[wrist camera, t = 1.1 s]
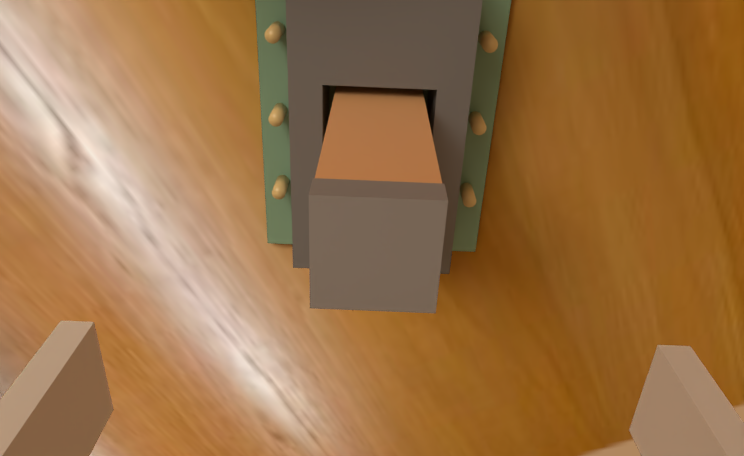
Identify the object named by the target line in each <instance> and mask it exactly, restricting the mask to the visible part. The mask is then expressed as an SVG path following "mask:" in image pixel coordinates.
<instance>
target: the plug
mask: <svg viewBox="0 0 744 456" xmlns="http://www.w3.org/2000/svg"><path fill="white" fill-rule="evenodd" d="M447 207H448V197H447V193H446V188H445V184H442V179H441V175H440V170H439V165H438V160H437V156H436V151H435V146H434V142H433V137H432V132H431V128H430V123H429V118H428V113H427V109H426V104H425V99H424V95H423V90H422V89H404V88H381V87H358V86H336V90H335V94H334V98H333V102H332V107H331V111H330V115H329V119H328V124H327V128H326V132H325V136H324V141H323V145H322V149H321V153H320V158H319V162H318V166H317V170H316V175H315V178H313V179H312V183H311V187H310V191H309V265H310V308H318V309H343V310H368V311H392V312H417V313H436V305H437V296H438V287H439V278H440V269H441V261H442V252H443V243H444V234H445V225H446V216H447Z"/></svg>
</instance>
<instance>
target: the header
mask: <svg viewBox="0 0 744 456" xmlns="http://www.w3.org/2000/svg"><path fill="white" fill-rule="evenodd" d="M255 4H256V23H257V43H258V62H259V82H260V101H261V121H262V140H263V160H264V179H265V199H266V218H267V238H268V243H275V244H292V245H293V268H310V265H309V191H310V187H311V183H312V179H313V178H315V175H316V170H317V166H318V162H319V158H320V153H321V149H322V145H323V141H324V136H325V132H326V128H327V124H328V119H329V115H330V111H331V107H332V102H333V98H334V94H335V90H336V86H358V87H381V88H404V89H422V90H423V95H424V99H425V104H426V109H427V113H428V118H429V123H430V128H431V132H432V137H433V142H434V146H435V151H436V156H437V160H438V165H439V170H440V175H441V179H442V184H445V188H446V193H447V197H448V207H447V216H446V225H445V234H444V243H443V252H442V261H441V269H440V274H449V273H450V264H451V256H452V251H470V252H475V250H476V243H477V236H478V229H479V222H480V215H481V208H482V201H483V194H484V187H485V180H486V173H487V166H488V159H489V152H490V145H491V138H492V131H493V124H494V117H495V110H496V103H497V96H498V90H499V83H500V76H501V69H502V62H503V55H504V48H505V41H506V34H507V27H508V20H509V13H510V6H511V0H255Z"/></svg>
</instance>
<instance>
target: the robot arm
mask: <svg viewBox="0 0 744 456" xmlns="http://www.w3.org/2000/svg"><path fill="white" fill-rule="evenodd" d="M113 410H114V409H113V405H112V400H111V396H110V391H109V387H108V382H107V378H106V373H105V369H104V365H103V360H102V356H101V351H100V347H99V342H98V338H97V333H96V329H95V324H94V322H80V321H60V323H59V324H58V325H57V326H56V328H55V329H54V330H53V332H52V333H51V334H50V336H49V337H48V338H47V339H46V341H45V342H44V343H43V345H42V346H41V347H40V349H39V350H38V351H37V352H36V354H35V355H34V356H33V358H32V359H31V360H30V362H29V363H28V364H27V365H26V367H25V368H24V369H23V371H22V372H21V373H20V375H19V376H18V377H17V378H16V380H15V381H14V382H13V384H12V385H11V386H10V388H9V389H8V390H7V392H6V393H5V394H4V395H3V397H2V398H1V399H0V456H89V455H90V453H91V451H92V449H93V447H94V446H95V444H96V442H97V440H98V438H99V436H100V434H101V432H102V430H103V429H104V427H105V425H106V423H107V421H108V419H109V417H110V415H111V413H112V412H113ZM629 431H630V433H631V435H632V437H633V439H634V441H635V443H636V445H637V448H638V450H639V452H640V454H641V456H744V422H743V421H742V419H741V418H740V417H739V415H738V414H737V412H736V411H735V409H734V408H733V406H732V405H731V404H730V402H729V401H728V399H727V398H726V396H725V395H724V394H723V392H722V391H721V389H720V388H719V386H718V385H717V384H716V382H715V381H714V379H713V378H712V376H711V375H710V374H709V372H708V371H707V369H706V368H705V366H704V365H703V363H702V362H701V361H700V359H699V358H698V356H697V355H696V353H695V352H694V351H693V349H692V348H691V346H673V345H658V346H657V349H656V352H655V355H654V357H653V360H652V363H651V366H650V369H649V372H648V375H647V378H646V381H645V384H644V387H643V390H642V393H641V396H640V399H639V402H638V405H637V408H636V411H635V414H634V417H633V420H632V423H631V426H630V429H629Z"/></svg>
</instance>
